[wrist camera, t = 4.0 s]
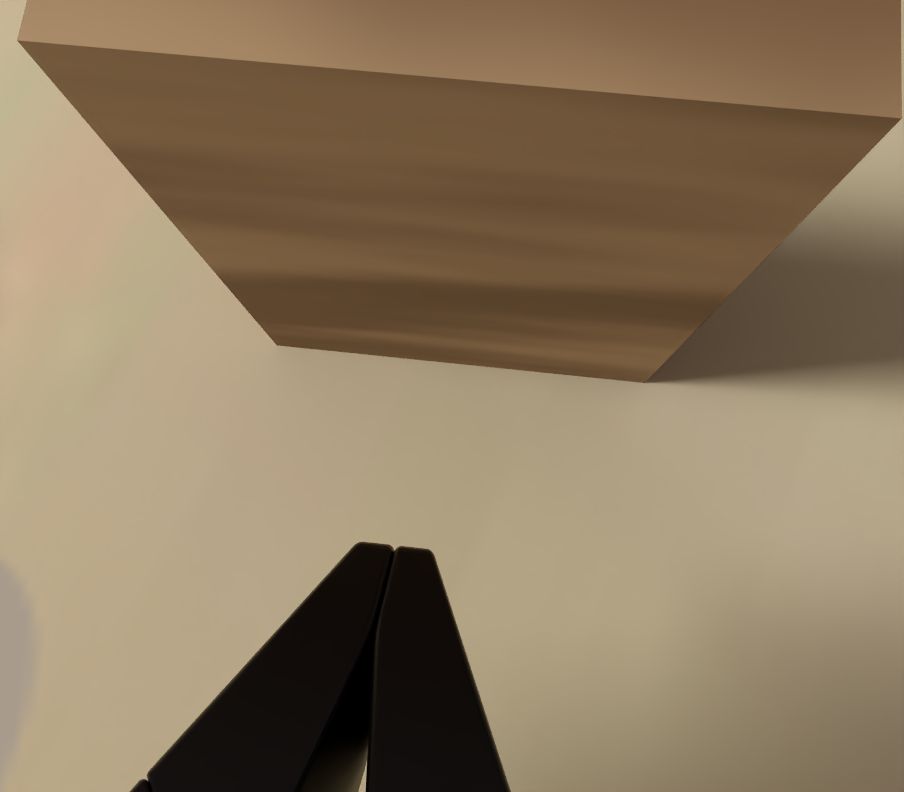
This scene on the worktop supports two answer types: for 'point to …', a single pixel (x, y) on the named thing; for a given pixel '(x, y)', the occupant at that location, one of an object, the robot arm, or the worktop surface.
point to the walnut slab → (481, 157)
